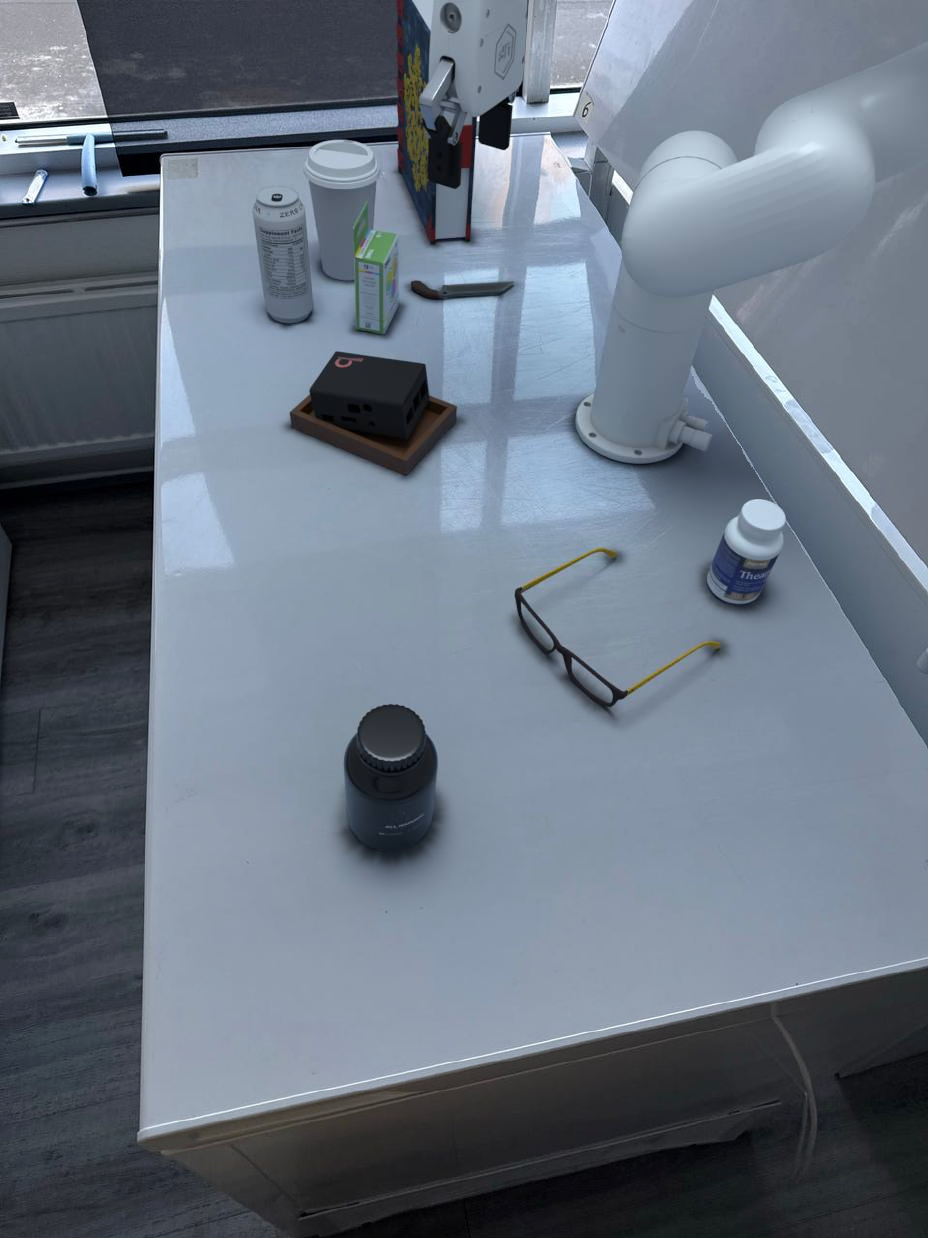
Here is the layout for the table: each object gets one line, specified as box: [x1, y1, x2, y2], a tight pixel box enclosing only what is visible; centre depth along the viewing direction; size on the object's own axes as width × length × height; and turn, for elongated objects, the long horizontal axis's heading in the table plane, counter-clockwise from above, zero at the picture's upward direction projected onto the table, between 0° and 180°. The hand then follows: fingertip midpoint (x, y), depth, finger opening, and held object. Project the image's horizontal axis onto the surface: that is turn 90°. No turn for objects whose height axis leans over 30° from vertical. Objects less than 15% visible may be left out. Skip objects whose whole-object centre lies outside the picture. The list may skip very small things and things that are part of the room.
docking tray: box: [289, 394, 458, 476], centre depth 100 cm, size 15×11×2 cm
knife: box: [410, 280, 515, 299], centre depth 119 cm, size 14×4×1 cm, turn 101°
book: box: [395, 0, 478, 245], centre depth 125 cm, size 25×7×25 cm, turn 14°
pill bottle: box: [706, 498, 787, 605], centre depth 85 cm, size 5×5×10 cm
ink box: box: [353, 201, 400, 335], centre depth 109 cm, size 7×4×13 cm, turn 168°
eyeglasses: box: [514, 547, 722, 708], centre depth 82 cm, size 14×14×4 cm
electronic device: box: [309, 350, 430, 439], centre depth 98 cm, size 7×11×5 cm
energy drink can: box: [252, 184, 314, 324], centre depth 108 cm, size 6×6×15 cm
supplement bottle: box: [343, 703, 439, 852], centre depth 66 cm, size 7×7×12 cm
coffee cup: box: [302, 139, 381, 282], centre depth 116 cm, size 10×10×15 cm
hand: (469, 164), depth 85 cm, fingers open, 9 cm apart
